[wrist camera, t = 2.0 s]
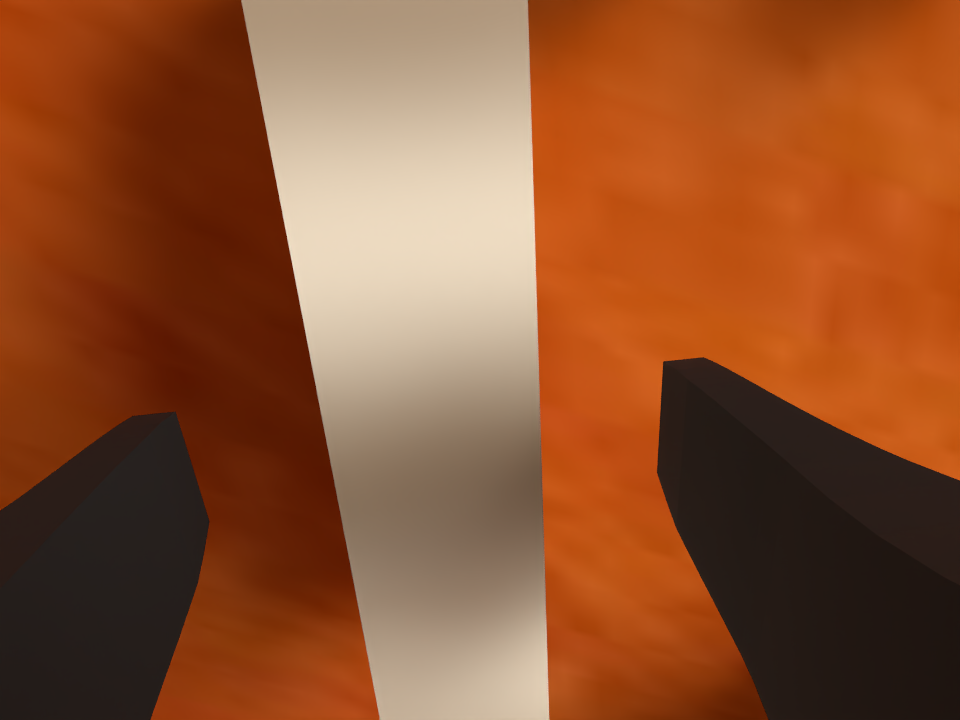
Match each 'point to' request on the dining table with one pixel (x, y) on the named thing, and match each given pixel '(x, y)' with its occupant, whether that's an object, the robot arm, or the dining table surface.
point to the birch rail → (421, 329)
